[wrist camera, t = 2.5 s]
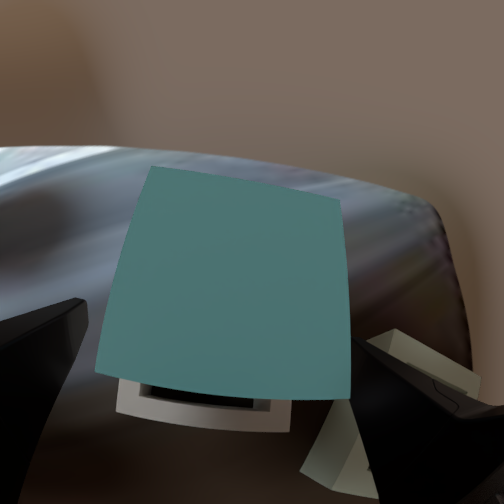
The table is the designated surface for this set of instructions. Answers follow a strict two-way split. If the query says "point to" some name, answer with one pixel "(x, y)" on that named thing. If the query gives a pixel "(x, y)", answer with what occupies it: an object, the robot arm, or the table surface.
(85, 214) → the table surface
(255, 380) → the plug
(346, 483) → the socket block
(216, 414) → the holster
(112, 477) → the table surface
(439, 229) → the table surface
